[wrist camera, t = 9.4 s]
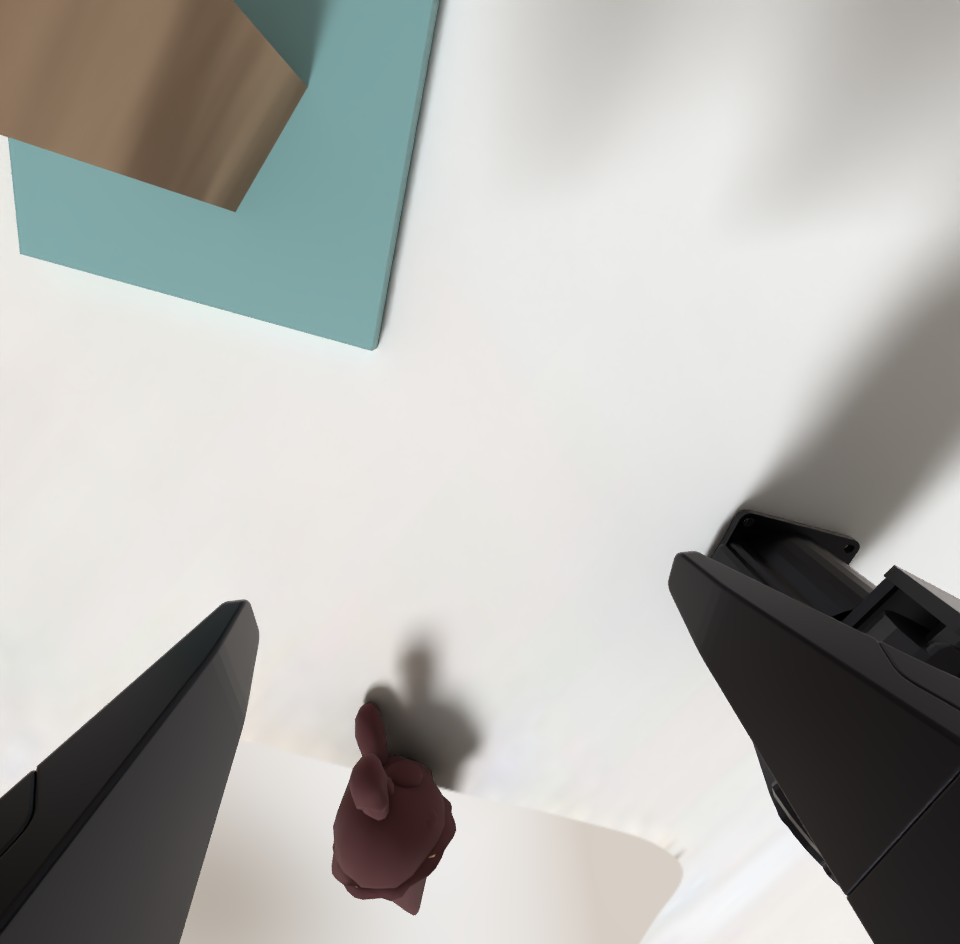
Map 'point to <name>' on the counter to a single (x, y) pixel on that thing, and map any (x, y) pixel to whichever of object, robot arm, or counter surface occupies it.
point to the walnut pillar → (147, 90)
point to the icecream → (388, 822)
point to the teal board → (266, 185)
